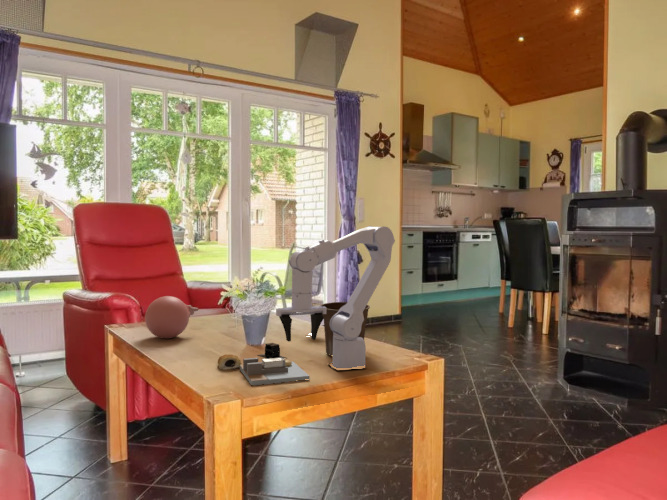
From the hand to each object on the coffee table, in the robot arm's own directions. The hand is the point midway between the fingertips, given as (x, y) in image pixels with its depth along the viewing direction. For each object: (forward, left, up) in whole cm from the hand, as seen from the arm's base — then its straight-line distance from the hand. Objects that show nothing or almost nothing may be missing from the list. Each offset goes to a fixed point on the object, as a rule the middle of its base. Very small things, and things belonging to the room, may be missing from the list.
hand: (301, 339), depth 151 cm
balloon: (+31, -58, -10) cm, 66 cm away
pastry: (+18, -13, -10) cm, 25 cm away
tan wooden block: (+8, 0, -8) cm, 11 cm away
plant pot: (-20, -16, -10) cm, 27 cm away
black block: (+3, -20, -10) cm, 23 cm away
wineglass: (-19, -47, -10) cm, 52 cm away
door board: (+8, 0, -9) cm, 12 cm away
